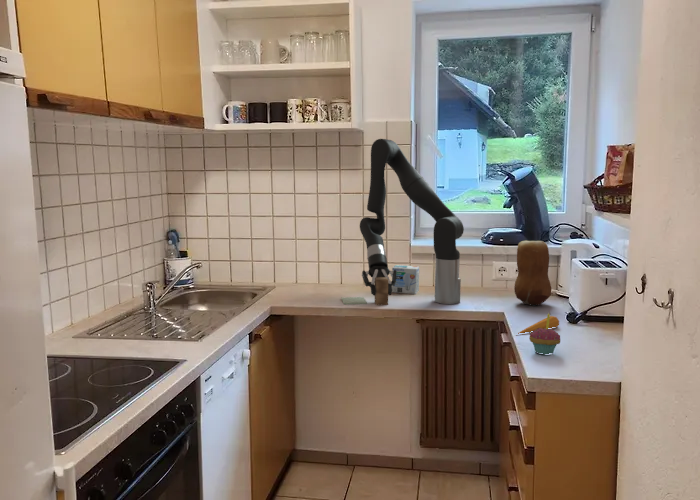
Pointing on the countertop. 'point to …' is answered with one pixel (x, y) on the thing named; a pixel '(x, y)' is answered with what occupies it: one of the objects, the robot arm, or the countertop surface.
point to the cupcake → (544, 339)
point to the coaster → (354, 300)
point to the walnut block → (381, 291)
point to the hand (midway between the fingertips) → (382, 293)
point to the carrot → (542, 324)
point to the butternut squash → (532, 272)
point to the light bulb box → (406, 279)
